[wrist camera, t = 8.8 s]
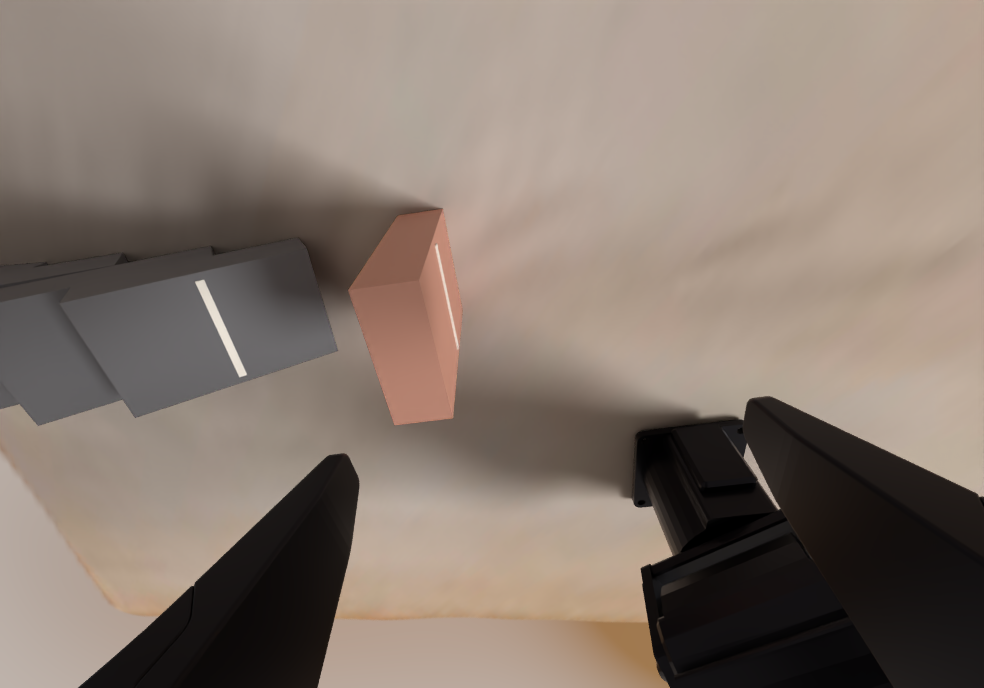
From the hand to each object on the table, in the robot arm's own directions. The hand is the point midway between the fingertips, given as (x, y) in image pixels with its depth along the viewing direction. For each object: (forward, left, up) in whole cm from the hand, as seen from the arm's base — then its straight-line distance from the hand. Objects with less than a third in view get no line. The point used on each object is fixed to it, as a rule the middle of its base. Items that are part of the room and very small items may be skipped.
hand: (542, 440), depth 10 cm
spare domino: (0, +4, -12) cm, 12 cm away
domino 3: (0, +13, -11) cm, 17 cm away
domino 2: (0, +9, -11) cm, 14 cm away
